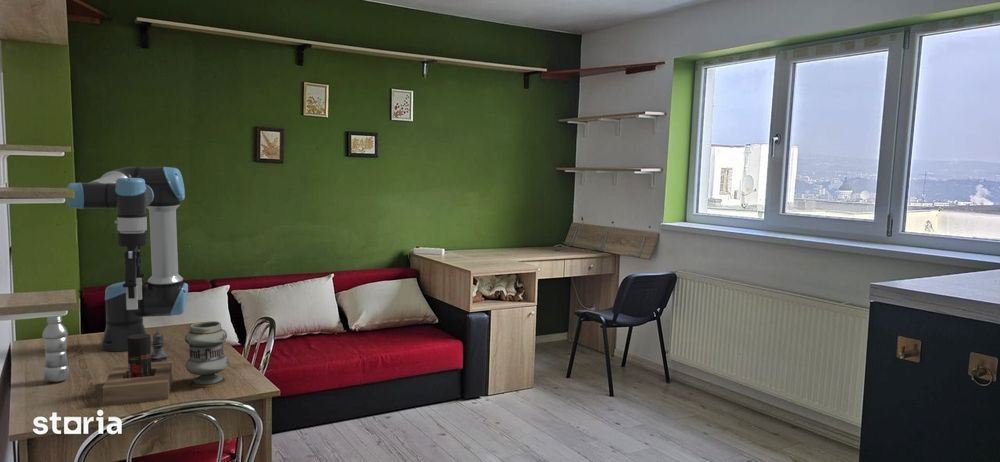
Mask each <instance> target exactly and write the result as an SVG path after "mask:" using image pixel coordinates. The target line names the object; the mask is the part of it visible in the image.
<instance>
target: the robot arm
mask: <svg viewBox="0 0 1000 462" xmlns="http://www.w3.org/2000/svg"><path fill="white" fill-rule="evenodd" d="M67 188H71V189H74V190H75V198H74V199H66V198H65V199H66V200H65V201H66V204H67V206H68V207H69V208H71V209H80V210H85V209H87V210H88V209H115V210H116V220H114V224H116V225H117V226H116V229H117V231H118V233H117V237H116V238H117V245H118V247H122V248H123V247H125V248H126V250H127V251H125V252H124V254H123V255H124V265H125V270H124V271H125V274H124V276H125V277H124V281H121V282H120V281H119V282H116V283H113V284H110V285H108V286H107V287H106V288H105V290H104V292H105V293H104V294H105V296H104V303H105V307H104V308H105V330H104V332H103V336H102V338H101V342H100V349H101V350H103V351H106V352H107V351H108V352H128V343H127V337H128V336H130V335H134V334H148V333H147V330H146V328H145V324H144V317H146V318H148V317H172V316H181V315H182V314H183V313H184V312H185V310H186V306H187V301H188V295H189V294H188V293H189V284H188V283H186V282H184V277H182V276H181V275H180V274H179V259H178V258H179V256H178V255H179V254H178V235H177V234H178V233H177V232H178V231H177V209H178V208H179V207H180V206H181V202H182V201H184V200H185V198H186V195H185V194H186V191H185V184H184V179H183V175H182V172H181V171H180V170H179V168H177V167H168V166H126V167H122V168H117V169H114V170H110V171H108V172H105V173H104V174H103V175H102V176H100V177H99V178H97V179H95V180H92V181H89V182H81V181H80V182H71V183H68V185H67V186H66V189H67ZM147 209H148V214H149V232H150V233H149V234H150V237H149V238H150V239H149V240H150V260H151V276H150V277H149V278H148V279H147V284H143V282H142V280H143V279H142V278H144V277H145V274H144V273H143V271H142V264H141V263H142V251H141V247H144V246H146V245H148V233H147V232H146V231H147V230H148V221H147V219H148V218H147Z"/></svg>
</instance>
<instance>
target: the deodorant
mask: <svg viewBox="0 0 1000 462" xmlns="http://www.w3.org/2000/svg"><path fill="white" fill-rule="evenodd" d="M127 343H128V351H127V364H128V372H129V378H137V377H148V376H152V375H151V355H152V351H151V349H152V348H151V346H152V344H151V334H149V333H147V334H134V335H130V336H128V337H127Z"/></svg>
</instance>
